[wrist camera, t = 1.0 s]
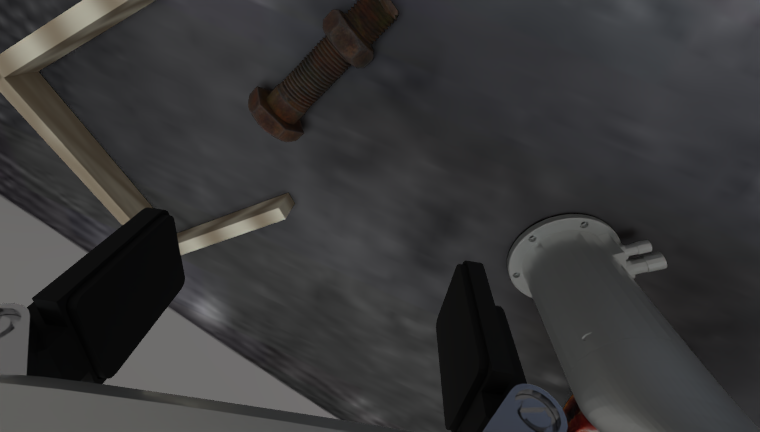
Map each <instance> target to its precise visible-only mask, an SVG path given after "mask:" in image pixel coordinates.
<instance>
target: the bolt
mask: <svg viewBox="0 0 760 432" xmlns="http://www.w3.org/2000/svg"><path fill="white" fill-rule="evenodd" d="M397 16H398V10H397V9H396V8H395V6H394V5H393V3H392V2H391V1H390V0H360V1H358V0H357V4H354V7H351V11H350V10H348V14H347V13H345V14H344V13H343V12H342V11H340V10H332V11H331V12H330V13H329V14H328V15H327V16H326V17H325V19H324V20H323V30H324V32H325V34H326V35H325V36H326V38H323V41H321V40H320V44H319V43H317V46H318V47H317V46H315V47H314V48H315V49H312V52H309V55H307V58H306V57H304V60H302V61H301V62H302V63H300V64H299V66H297V68H295V69H294V71H292V72H291V73H290V74H289V76H287V77H286V79H284V81H283V82H282V83H281V84H278V85H277V87H276V88H275V89H274V90H273V91H269V90H266V89H263V88H261V87H258V86H257V87H256V88H255V89H254V90H253V91H252V93H251V94H250V96H249V100H248V107H249V110H250V112H251V114H252V116H253V117H254V119H255V120H256V121H257V123H258V124H259V125H260V126H261V128H263V129H264V130H265V131H266V132H268V133H269V134H271V135H272V136H274V137H275V138H277V139H279V140H281V141H284V142H292V141H296V140H298V139H299V138H300V137H301V136H302V135H303V134H304V132H303V128H302V124H301V120H300V118H301V117H302V116H303V115H304V114H305V113H306V111H307V110H308V108H310V106H311V105H312V104H313V103H314V102H315V101H316V100H317V99H318V98H319V97H320V96H322V95H323V94H322V93H325V91H326V90H328V88H330V86H332V84H333V83H335V80H337V79H338V78H340V75H342V74H343V72H345V69H348V67H350V66H351V64H352V65H353V66H354V67H356V68H365V67H366V66H367V65H368V64H369V63H370V62H371V61H372V60H373V52H374V51H373V49H372V47H371V46H370V44H373V41H376V38H379V36H378V35H382V34H381V32H385V31H384V29H388V26H391V23H394V20H397Z"/></svg>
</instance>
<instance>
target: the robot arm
mask: <svg viewBox="0 0 760 432" xmlns="http://www.w3.org/2000/svg"><path fill="white" fill-rule="evenodd" d="M651 251H652V246H651V244H650V242H649V241H648V240H647V239H645V240H641V241H637V242H633V243H632V244H628V245H623V244H621V241H620V239H619V237H618V236H617V234H616V233H615V231H614V230H613V229H612V228H611V227H610V226H609V225H608V224H606V223H605V222H603V221H602V220H600V219H597V218H595V217H592V216H588V215H583V214H566V215H558V216H555V217H551V218H548V219H545V220H543V221H541V222H539V223H536V224H535V225H533V226H532V227H530V228H528V229H527V230H526V231H525V232H524V233H522V234H521V235H520V236H519V237H518V239H517V240H516V241H515V242H514V244H513V245H512V247H511V249H510V251H509V254H508V258H507V269H508V274H509V276H510V279H511V281H512V283H513V284H514V286H515V287H516V288H517V289H518V290H519V291H520V292H521V293H523V294H525V295H527V296H528V297H531V298H533V300H534V302H535V304H536V307H537V309H538V312H539V314H540V316H541V319H542V321H543V324H544V326H545V328H546V331H547V333H548V335H549V338H550V340H551V343H552V345H553V347H554V350H555V352H556V355H557V357H558V359H559V362H560V364H561V367H562V369H563V371H564V374H565V376H566V379H567V381H568V383H569V386H570V388H571V391H572V393H573V395H574V398H575V400H576V402H577V404H578V406H579V408H580V410H581V411H582V413H583V414H584V416H585V417H586V418H587V419H588V421H589V422H590V423H591V424H592V425H593V426H594V427H595V428H596V429H597V430H599V431H600V432H760V429H759V428H758V427H757V426H756V425H755V424H754V423H753V422H752V421H751V420H750V419H749V417H748V416H747V415H746V414H745V413H744V412H743V411H742V410H741V408H740V407H739V406H738V405H737V404H736V403H735V402H734V401H733V399H732V398H731V397H730V396H729V395H728V394H727V393H726V391H725V390H724V389H723V388H722V387H721V386H720V384H719V383H718V382H717V381H716V380H715V378H714V377H713V376H712V375H711V374H710V372H709V371H708V370H707V369H706V368H705V366H704V365H703V364H702V363H701V361H700V360H699V359H698V358H697V357H696V355H695V354H694V353H693V352H692V351H691V349H690V348H689V347H688V346H687V345H686V343H685V342H684V341H683V340H682V338H681V337H680V336H679V335H678V333H677V332H676V331H675V330H674V328H673V327H672V326H671V325H670V324H669V322H668V321H667V320H666V319H665V317H664V316H663V315H662V314H661V312H660V311H659V310H658V309H657V308H656V306H655V305H654V304H653V303H652V301H651V300H650V299H649V298H648V296H647V295H646V294H645V293H644V292H643V290H642V289H641V288H640V287H639V285H638V284H637V283H636V282H635V280H634V278H635V274H639V273H644V272H647V273H649V272H653V271H658V270H662V269H666V268H667V262H666V260H665V258H664V256H663V255H662V253H660V252H654V253H650V254H646V255H642V256H639V257H638V258H633V259H628V258H629V256H632V255H636V254H637V255H638V254H643V253H647V252H651ZM184 281H185V276H184V270H183V265H182V259H181V254H180V249H179V243H178V238H177V232H176V227H175V222H174V218H173V217H172V216H170V215H169V213H168V211H166V210H161V209H155V208H149V207H147V208H144V209H143V210H141V211H140V212H139V213H138V214H136V215H135V216H134V217H133V218H131V219H130V220H129V221H128V222H126V223H125V224H124V225H123V226H121V227H120V228H119V229H118V230H116V231H115V232H114V233H113V234H111V235H110V236H109V237H108V238H106V239H105V240H104V241H103V242H101V243H100V244H99V245H98V246H96V247H95V248H94V249H93V250H91V251H90V252H89V253H88V254H86V255H85V256H84V257H83V258H81V259H80V260H79V261H78V262H77V263H75V264H74V265H73V266H72V267H70V268H69V269H68V270H67V271H65V272H64V273H63V274H62V275H60V276H59V277H58V278H57V279H55V280H54V281H53V282H52V283H50V284H49V285H48V286H47V287H45V288H44V289H43V290H42V291H40V292H39V293H38V294H37V295H36V296H34V297H33V298H32V299H33V301H34V302H33V303H32V304H31V305H29V306H28V307H27V308H26V307H25V306H23V305H19V304H15V303H8V304H7V303H6V304H5V303H4V304H0V432H412V431H406V430H400V429H394V428H389V427H383V426H377V425H371V424H364V423H358V422H351V421H345V420H339V419H332V418H326V417H319V416H313V415H306V414H299V413H293V412H287V411H280V410H273V409H267V408H260V407H253V406H247V405H240V404H234V403H227V402H220V401H214V400H207V399H200V398H194V397H187V396H180V395H173V394H165V393H159V392H152V391H145V390H138V389H132V388H125V387H118V386H111V385H104V384H103V383H104V381H105V380H106V379H107V378H111V377H113V376H114V375H115V374H116V373H117V371H118V370H119V369H120V368H121V366H122V365H123V363H124V362H125V361H126V360H127V359H128V357H129V356H130V355H131V353H132V352H133V351H134V349H135V348H136V347H137V346H138V344H139V343H140V342H141V340H142V339H143V338H144V336H145V335H146V334H147V333H148V331H149V330H150V329H151V327H152V326H153V325H154V323H155V322H156V321H157V320H158V318H159V317H160V316H161V314H162V313H163V312H164V311H165V309H166V308H167V307H168V305H169V304H170V303H171V301H172V300H173V299H174V298H175V296H176V295H177V294H178V292H179V291H180V290H181V288H182V287H183V285H184ZM436 332H437V342H438V353H439V364H440V374H441V385H442V396H443V406H444V417H445V426H446V429H447V430H451V431H452V432H567V428H568V424H567V418H566V416H565V413H564V411H563V409H562V407H561V406H560V405H559V403H558V402H557V401H556V400H555V399H554V398H553V397H552V396H551V395H550V394H549V393H548V392H546V391H545V390H543V389H541V388H540V387H537V386H534V385H532V384H527V382H526V379H525V375H524V372H523V369H522V366H521V363H520V360H519V356H518V353H517V350H516V347H515V344H514V341H513V338H512V334H511V331H510V328H509V325H508V322H507V319H506V315H505V312H504V310H503V309H502V308H501V307H499V306H495V303H494V300H493V297H492V293H491V290H490V286H489V283H488V279H487V276H486V273H485V269H484V266H483V264H482V263H477V262H471V261H464V262H463V264H458V265H457V267H456V269H455V272H454V275H453V277H452V280H451V283H450V285H449V288H448V291H447V294H446V296H445V299H444V302H443V305H442V307H441V310H440V313H439V315H438V318H437V323H436Z"/></svg>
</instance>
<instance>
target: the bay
mask: <svg viewBox="0 0 760 432" xmlns="http://www.w3.org/2000/svg"><path fill="white" fill-rule="evenodd" d="M154 1H156V0H82V1H81V2H79V3H78V4H76V5H75V6H73V7H72V8H70V9H69V10H67V11H66V12H64V13H62V14H61V15H59V16H58V17H56V18H55V19H53V20H52V21H50V22H49V23H47V24H46V25H44V26H42V27H41V28H39V29H38V30H36V31H35V32H33V33H32V34H30V35H29V36H27V37H26V38H24V39H23V40H21V41H19V42H18V43H16V44H15V45H13V46H12V47H10V48H9V49H7V50H6V51H4V52H3V53H1V54H0V92H1V93H2V94H3V95H4V96H5V97H6V99H7V100H8V101H9V102H10V103H11V104H12V105H13V106H14V107H15V108H16V110H17V111H18V112H19V113H20V114H21V115H22V116H23V117H24V118H25V119H26V120H27V122H28V123H29V124H30V125H31V126H32V127H33V128H34V129H35V130H36V131H37V132H38V134H39V135H40V136H41V137H42V138H43V139H44V140H45V141H46V142H47V143H48V144H49V146H50V147H51V148H52V149H53V150H54V151H55V152H56V153H57V154H58V155H59V156H60V158H61V159H62V160H63V161H64V162H65V163H66V164H67V165H68V166H69V167H70V168H71V170H72V171H73V172H74V173H75V174H76V175H77V176H78V177H79V178H80V179H81V181H82V182H83V183H84V184H85V185H86V186H87V187H88V188H89V189H90V190H91V191H92V193H93V194H94V195H95V196H96V197H97V198H98V199H99V200H100V201H101V202H102V203H103V205H104V206H105V207H106V208H107V209H108V210H109V211H110V212H111V213H112V214H113V215H114V217H115V218H116V219H117V220H118V221H119V222H120V223H121V224H122V225H124V224H125V223H126V222H128V221H129V220H130V219H131V218H133V217H134V216H135V215H136V214H138V213H139V212H140V211H141V210H143V209H144V208H147V207H149V208H153V207H152V206H151V205H150V204H149V203H148V201H147V200H146V199H145V198H144V197H143V195H142V194H141V193H140V192H139V191H138V189H137V188H136V187H135V186H134V185H133V184H132V182H131V181H130V180H129V179H128V178H127V176H126V175H125V174H124V173H123V172H122V170H121V169H120V168H119V167H118V166H117V164H116V163H115V162H114V161H113V160H112V159H111V157H110V156H109V155H108V154H107V153H106V151H105V150H104V149H103V148H102V147H101V145H100V144H99V143H98V142H97V141H96V140H95V138H94V137H93V136H92V135H91V134H90V132H89V131H88V130H87V129H86V128H85V126H84V125H83V124H82V123H81V122H80V120H79V119H78V118H77V117H76V116H75V115H74V113H73V112H72V111H71V110H70V109H69V107H68V106H67V105H66V104H65V103H64V101H63V100H62V99H61V98H60V97H59V96H58V94H57V93H56V92H55V91H54V90H53V88H52V87H51V86H50V85H49V84H48V82H47V81H46V80H45V79H44V78H43V76H42V75H41V74H40V73H39V72H38V71H40V70H41V69H43V68H45V67H46V66H48V65H50V64H51V63H53V62H55V61H56V60H58V59H60V58H61V57H63V56H65V55H66V54H68V53H70V52H71V51H73V50H75V49H76V48H78V47H79V46H81V45H83V44H84V43H86V42H88V41H89V40H91V39H93V38H94V37H96V36H98V35H99V34H101V33H103V32H104V31H106V30H108V29H109V28H111V27H113V26H114V25H116V24H118V23H119V22H121V21H123V20H124V19H126V18H127V17H129V16H131V15H132V14H134V13H136V12H137V11H139V10H141V9H142V8H144V7H146V6H147V5H149V4H151V3H152V2H154ZM294 204H295V203H294V201H293V200H292V198H291V196H290V195H289V193H286V194H283V195H281V196H278V197H275V198H272V199H270V200H267V201H264V202H262V203H259V204H256V205H253V206H251V207H248V208H245V209H242V210H240V211H237V212H234V213H232V214H229V215H226V216H223V217H221V218H218V219H215V220H212V221H210V222H207V223H204V224H201V225H199V226H196V227H193V228H191V229H188V230H185V231H182V232H180V233H177V238H178V243H179V249H180V254H181V255H183V254H186V253H189V252H192V251H194V250H197V249H200V248H203V247H206V246H209V245H212V244H215V243H218V242H221V241H223V240H226V239H229V238H232V237H235V236H238V235H241V234H244V233H247V232H250V231H253V230H255V229H258V228H261V227H264V226H267V225H270V224H273V223H276V222H279V221H282V220H284V219H286V218H287V216H288V214H289V212H290V211H291V209H292V207H293V206H294Z"/></svg>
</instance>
